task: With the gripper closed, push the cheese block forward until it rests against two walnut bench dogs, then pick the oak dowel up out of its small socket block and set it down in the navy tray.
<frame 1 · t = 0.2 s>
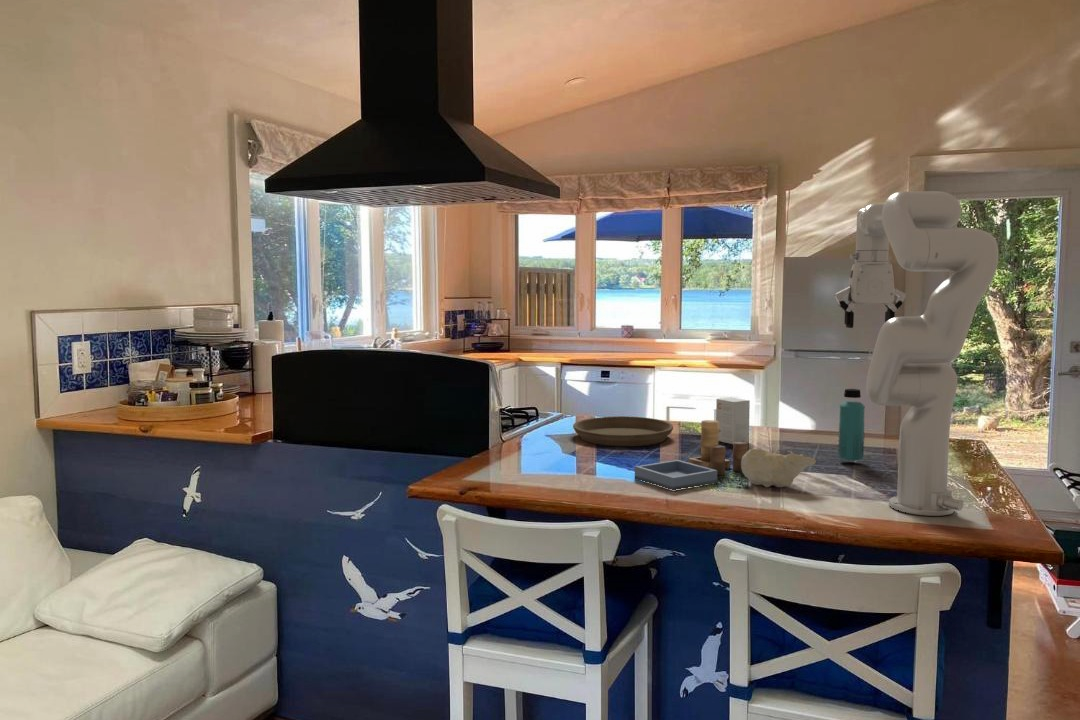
hand: (869, 327, 200), 37 cm above the counter, tool pointing down, fingers open, 9 cm apart
dowel socket: (709, 466, 211), on the counter
small box: (732, 442, 244), on the counter
bench dogs: (728, 472, 205), on the counter
plant saucer: (622, 439, 251), on the counter
dowel: (709, 444, 210), in the dowel socket
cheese: (778, 486, 192), on the counter
tray: (675, 481, 195), on the counter
beverage bottle: (850, 463, 215), on the counter
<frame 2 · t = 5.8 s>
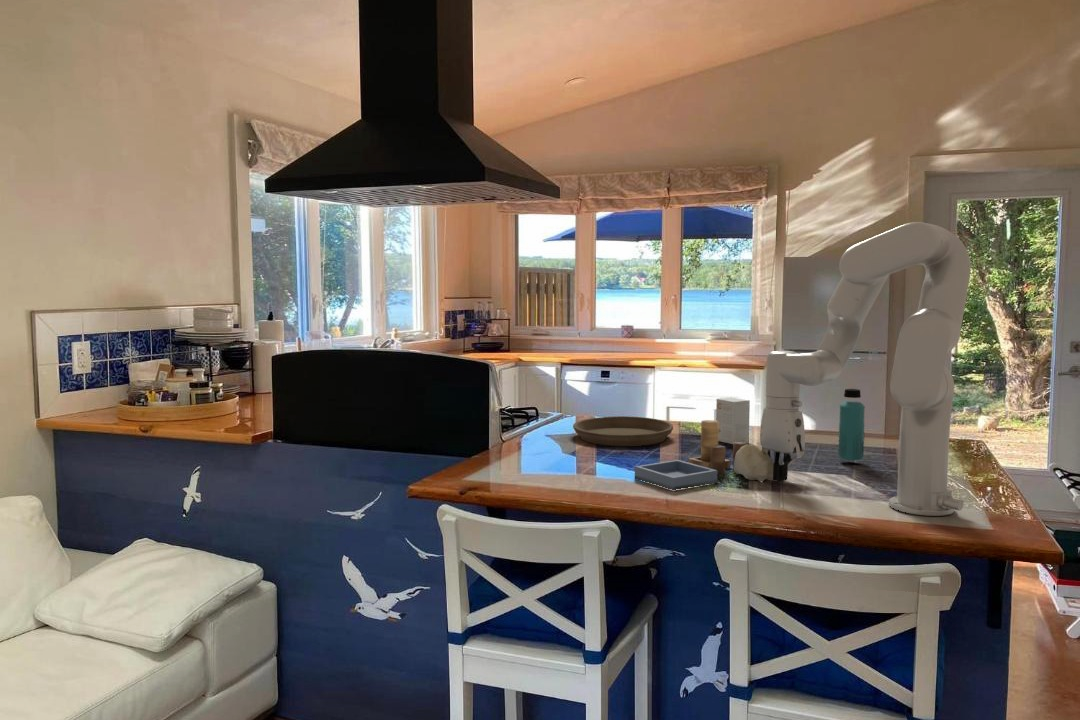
hand: (780, 480, 191), 1 cm above the counter, tool pointing down, fingers closed
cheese: (767, 479, 198), on the counter, touching gripper
everything else where it was.
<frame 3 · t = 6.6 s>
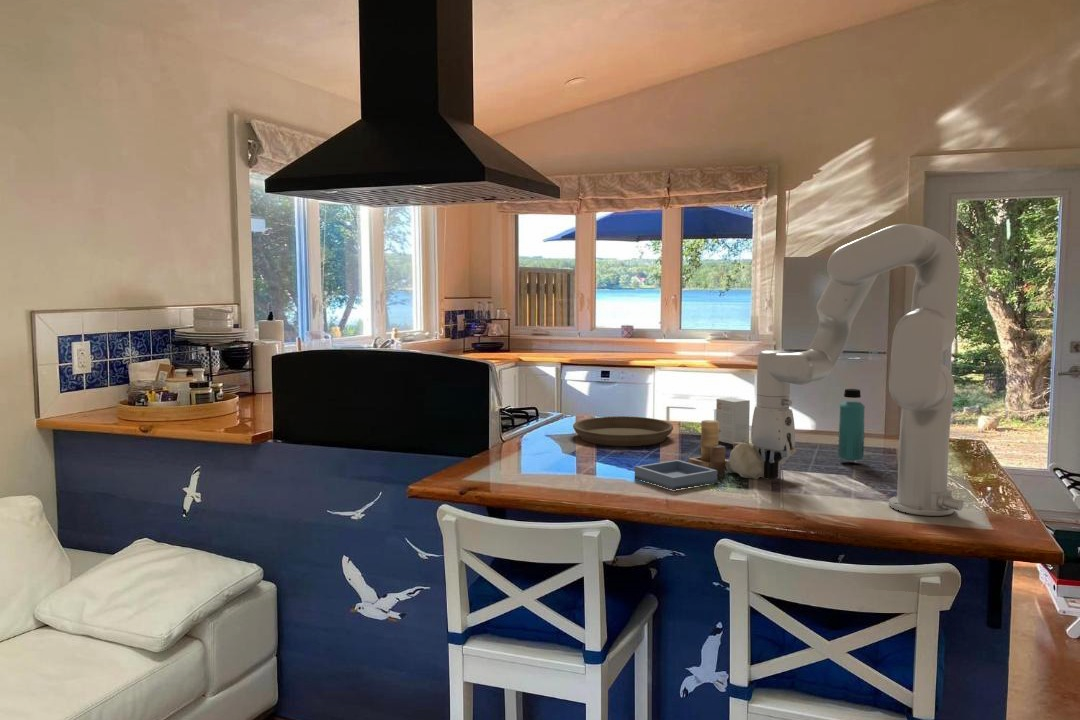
hand: (770, 477, 193), 1 cm above the counter, tool pointing down, fingers closed
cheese: (760, 477, 201), on the counter
everything else where it was.
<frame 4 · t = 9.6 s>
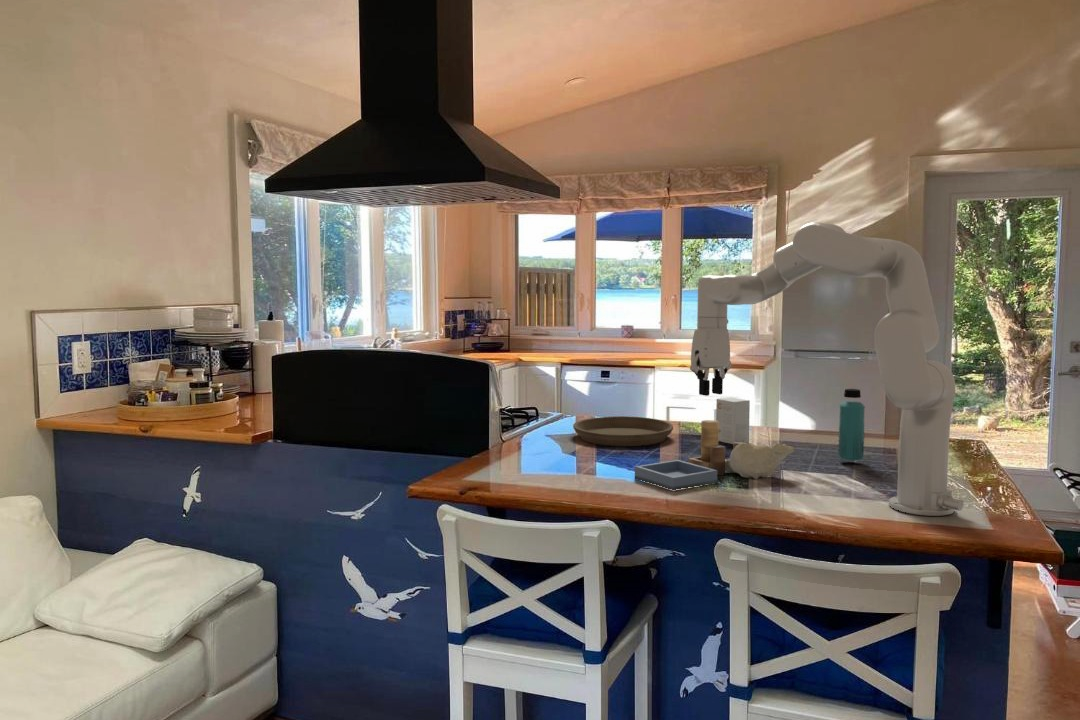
hand: (710, 393, 209), 19 cm above the counter, tool pointing down, fingers open, 3 cm apart
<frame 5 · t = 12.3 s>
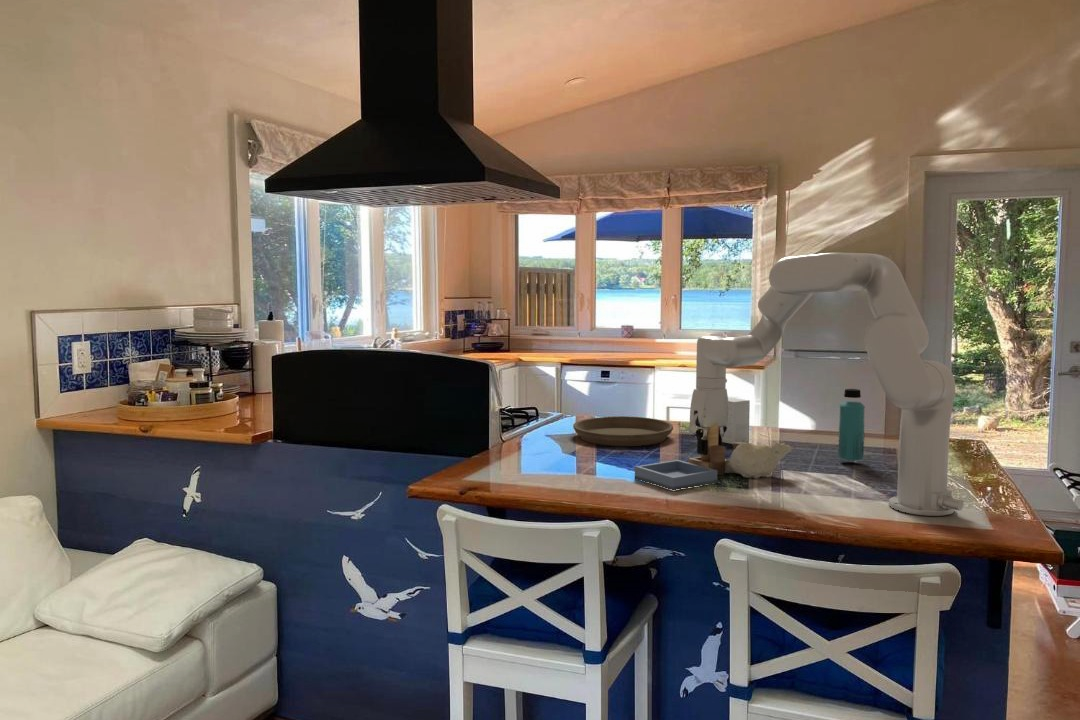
hand: (709, 452, 210), 4 cm above the counter, tool pointing down, fingers closed on dowel, 4 cm apart
dowel: (709, 444, 210), in the dowel socket, touching gripper
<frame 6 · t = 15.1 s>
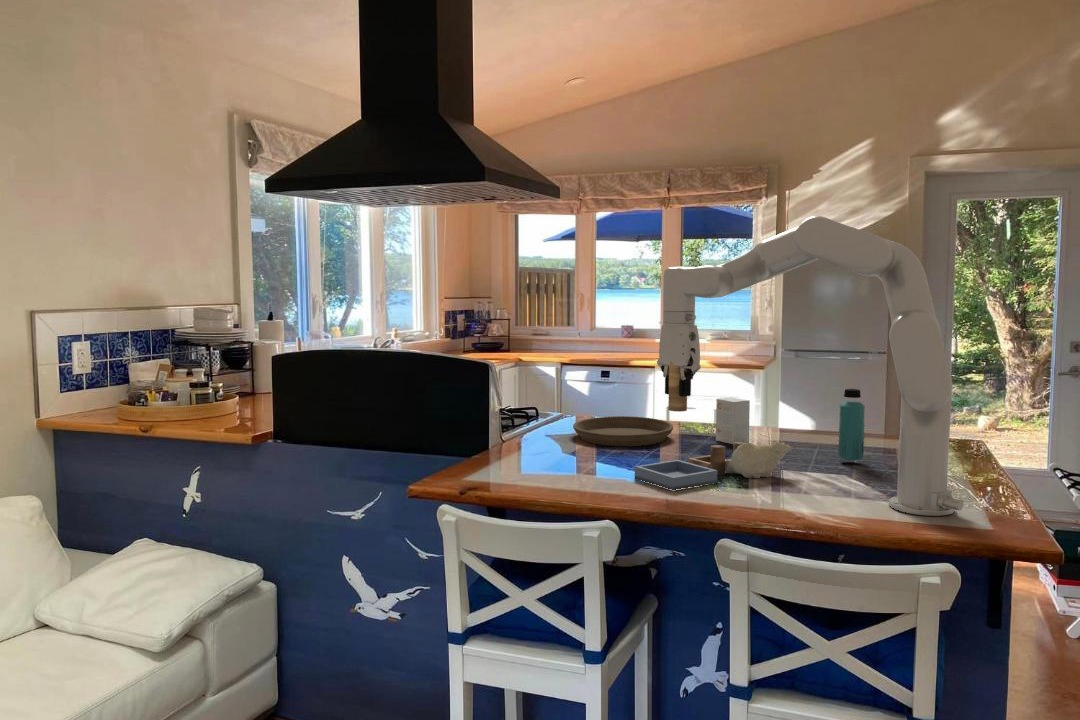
hand: (677, 394, 193), 21 cm above the counter, tool pointing down, fingers closed on dowel, 4 cm apart
dowel: (677, 385, 193), point 23 cm above the counter, touching gripper
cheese: (757, 475, 202), on the counter, touching bench dogs
everything else where it was.
when the fingers open (6 cm above the counter, at t = 17.8 s): dowel drops 1 cm, resting on tray.
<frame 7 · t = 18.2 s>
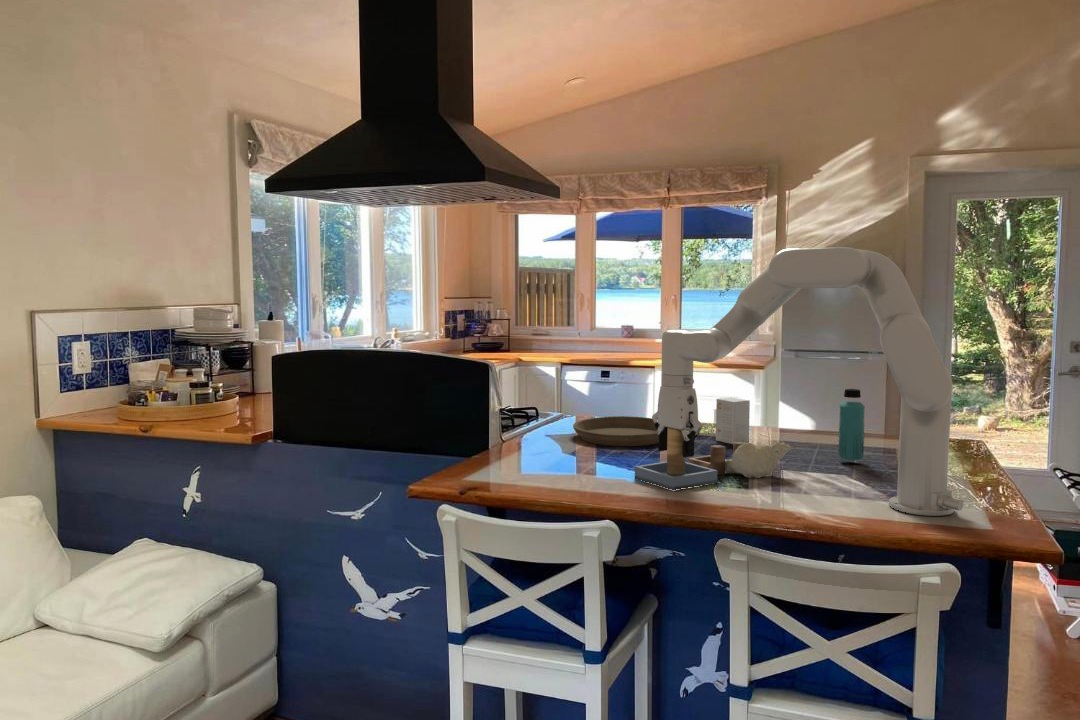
hand: (675, 453, 194), 7 cm above the counter, tool pointing down, fingers open, 8 cm apart
dowel: (676, 452, 194), in the tray, point 7 cm above the counter
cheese: (758, 475, 202), on the counter
everything else where it was.
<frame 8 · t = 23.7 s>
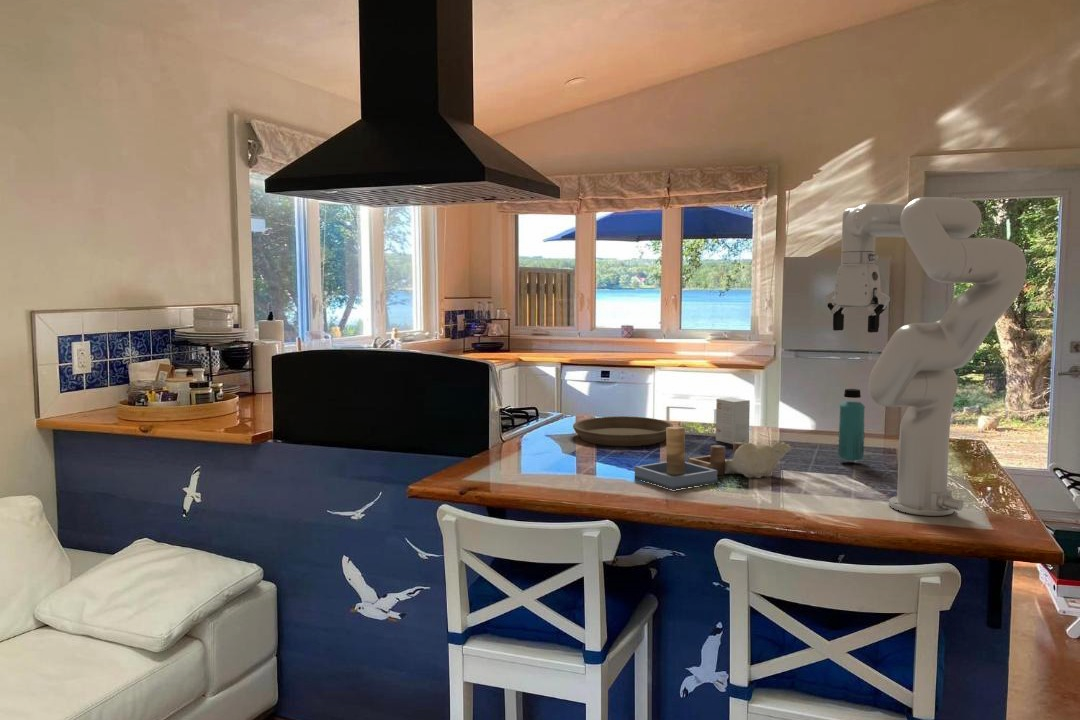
hand: (855, 331, 194), 36 cm above the counter, tool pointing down, fingers open, 9 cm apart
nothing on the counter moved.
at the end: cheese inside the target area (4.4 cm from its centre), on the counter; dowel inside the target area on the tray (0.1 cm from its centre), point 7.0 cm above the tray's base; the gripper is holding nothing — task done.
